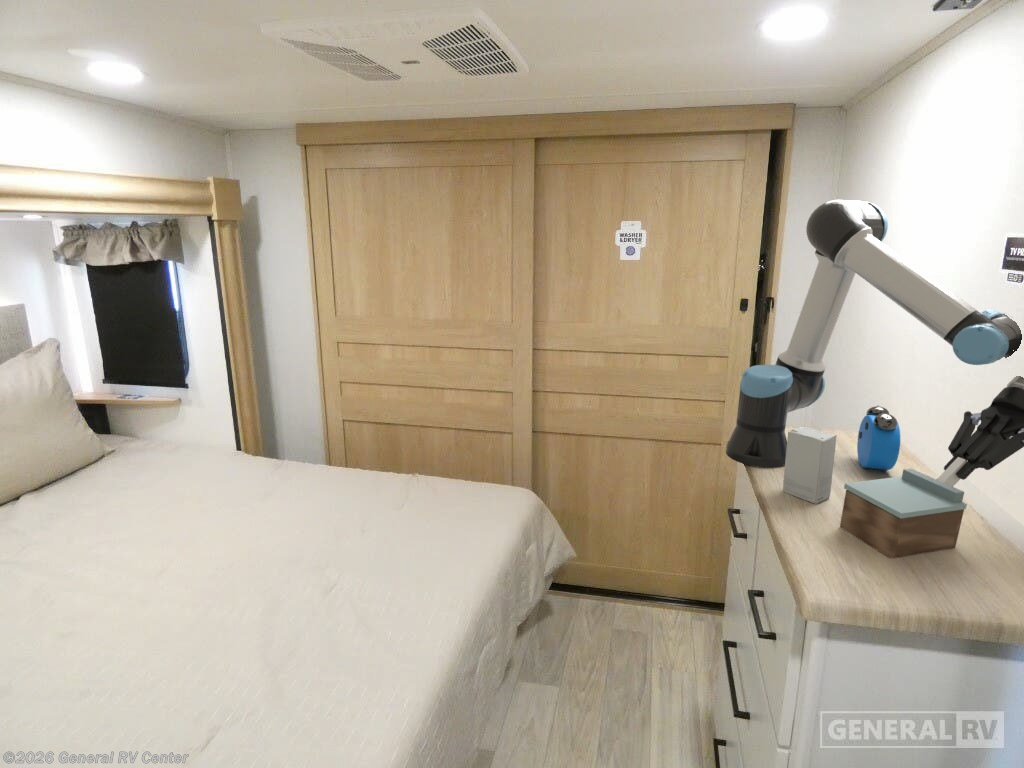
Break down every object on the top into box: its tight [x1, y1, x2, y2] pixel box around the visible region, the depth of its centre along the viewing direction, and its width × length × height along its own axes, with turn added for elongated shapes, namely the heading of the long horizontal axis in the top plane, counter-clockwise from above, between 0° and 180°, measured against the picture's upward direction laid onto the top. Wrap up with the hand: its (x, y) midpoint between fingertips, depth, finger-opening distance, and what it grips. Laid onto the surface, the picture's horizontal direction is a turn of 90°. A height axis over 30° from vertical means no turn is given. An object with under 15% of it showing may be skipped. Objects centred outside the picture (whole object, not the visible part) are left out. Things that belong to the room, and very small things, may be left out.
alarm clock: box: [856, 405, 901, 475], centre depth 146 cm, size 13×6×15 cm, turn 163°
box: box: [839, 489, 965, 559], centre depth 114 cm, size 12×15×8 cm
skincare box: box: [782, 426, 837, 505], centre depth 131 cm, size 8×6×15 cm
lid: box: [843, 468, 968, 519], centre depth 112 cm, size 13×15×3 cm
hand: (941, 486), depth 114 cm, fingers closed
